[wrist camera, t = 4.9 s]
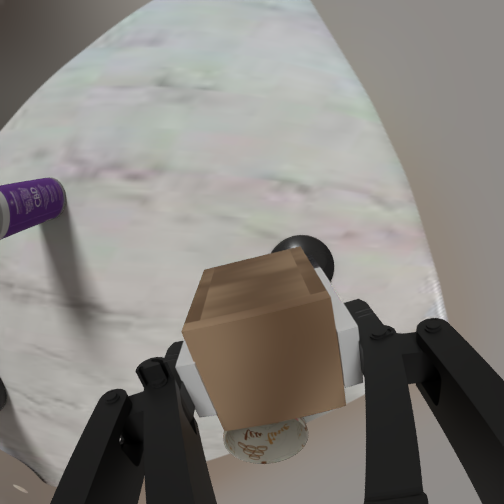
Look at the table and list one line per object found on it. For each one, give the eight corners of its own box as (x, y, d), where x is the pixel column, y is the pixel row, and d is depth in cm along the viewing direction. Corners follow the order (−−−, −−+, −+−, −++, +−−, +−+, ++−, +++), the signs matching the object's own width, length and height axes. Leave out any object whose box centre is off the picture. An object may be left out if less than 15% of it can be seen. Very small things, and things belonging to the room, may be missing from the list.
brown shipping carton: (230, 350, 19) (224, 431, 12) (204, 269, 17) (181, 331, 11) (317, 330, 18) (345, 405, 12) (300, 246, 17) (330, 297, 11)
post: (274, 305, 34) (280, 339, 28) (260, 243, 32) (264, 265, 26) (337, 290, 34) (357, 320, 27) (327, 228, 32) (348, 246, 26)
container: (73, 195, 31) (-21, 223, 16) (52, 227, 31) (-37, 269, 17) (47, 168, 30) (-49, 182, 15) (28, 201, 30) (-64, 229, 16)
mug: (215, 391, 38) (209, 451, 28) (264, 313, 35) (271, 367, 25) (273, 412, 39) (280, 470, 29) (327, 341, 36) (351, 395, 26)
